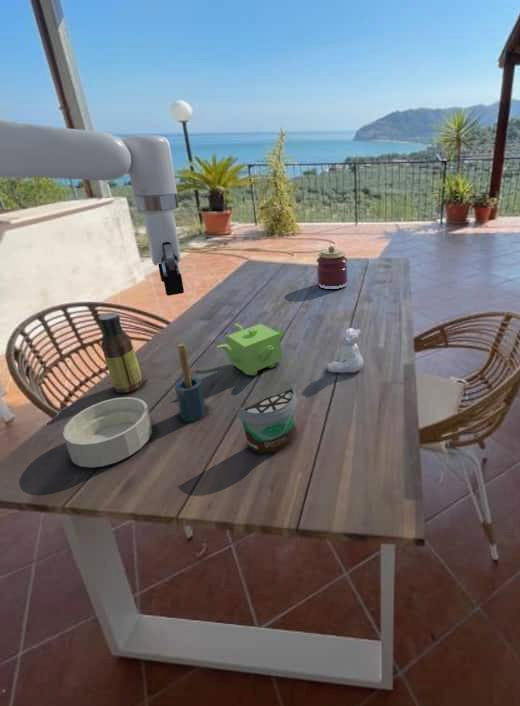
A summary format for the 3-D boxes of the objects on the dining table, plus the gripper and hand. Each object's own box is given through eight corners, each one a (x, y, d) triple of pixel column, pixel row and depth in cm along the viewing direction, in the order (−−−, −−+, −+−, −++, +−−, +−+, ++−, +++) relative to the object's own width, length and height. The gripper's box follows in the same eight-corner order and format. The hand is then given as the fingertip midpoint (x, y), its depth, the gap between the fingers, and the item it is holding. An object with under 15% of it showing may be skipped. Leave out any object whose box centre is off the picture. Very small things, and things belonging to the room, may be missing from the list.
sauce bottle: (140, 377, 102) (124, 307, 95) (145, 388, 97) (129, 315, 90) (111, 386, 98) (92, 314, 91) (115, 398, 93) (96, 323, 87)
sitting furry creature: (344, 356, 112) (343, 318, 108) (370, 363, 108) (371, 324, 104) (326, 371, 104) (324, 331, 100) (354, 380, 100) (353, 338, 96)
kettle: (221, 381, 100) (215, 342, 96) (235, 354, 113) (230, 318, 110) (280, 379, 101) (276, 340, 97) (286, 352, 114) (284, 317, 110)
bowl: (52, 465, 74) (43, 439, 72) (109, 416, 87) (103, 394, 85) (119, 474, 71) (111, 448, 69) (167, 423, 85) (162, 400, 83)
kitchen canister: (342, 291, 162) (342, 250, 156) (313, 289, 165) (311, 249, 159) (350, 282, 174) (350, 243, 168) (323, 279, 177) (321, 241, 171)
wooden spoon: (191, 416, 86) (179, 348, 80) (188, 410, 88) (176, 343, 82) (197, 413, 87) (186, 346, 81) (194, 407, 89) (183, 341, 83)
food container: (255, 468, 73) (249, 424, 69) (241, 449, 77) (236, 407, 74) (310, 438, 80) (308, 397, 77) (295, 423, 85) (292, 384, 81)
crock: (176, 420, 86) (170, 389, 83) (189, 405, 90) (184, 376, 88) (197, 422, 85) (192, 391, 82) (210, 408, 90) (205, 378, 87)
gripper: (133, 200, 80) (149, 278, 86) (137, 211, 66) (155, 304, 72) (173, 197, 84) (185, 273, 90) (185, 207, 70) (198, 296, 76)
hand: (172, 286), depth 81 cm, fingers open, 9 cm apart
